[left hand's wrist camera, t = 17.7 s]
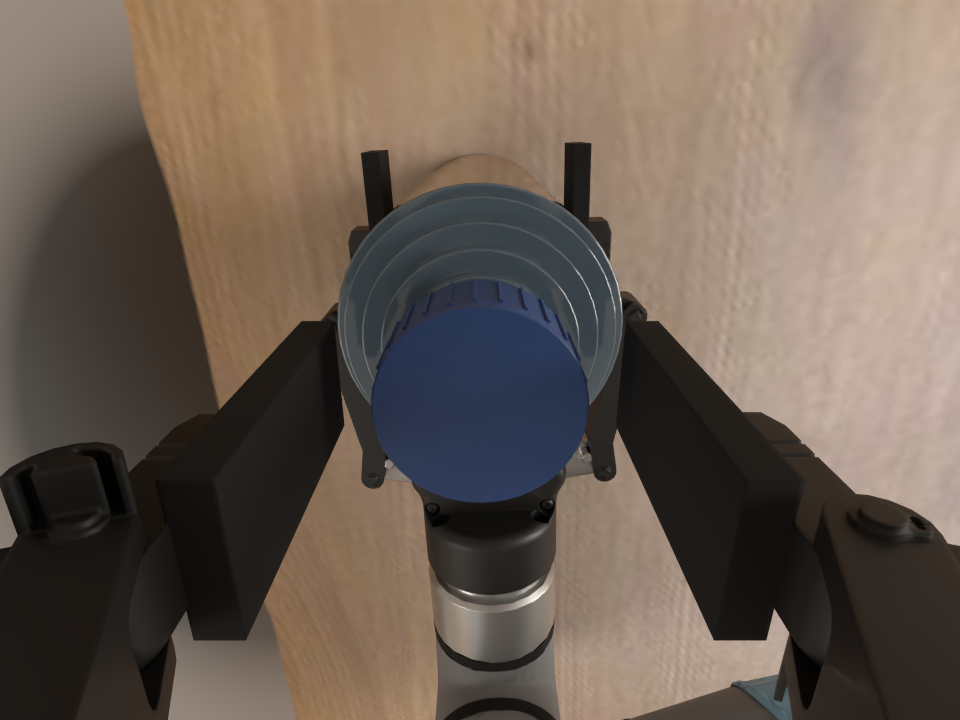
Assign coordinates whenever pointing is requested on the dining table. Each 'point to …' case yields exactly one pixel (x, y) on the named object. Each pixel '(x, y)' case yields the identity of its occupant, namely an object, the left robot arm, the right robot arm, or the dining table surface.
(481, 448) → the cap
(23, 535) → the left robot arm
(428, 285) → the bottle
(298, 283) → the dining table surface
